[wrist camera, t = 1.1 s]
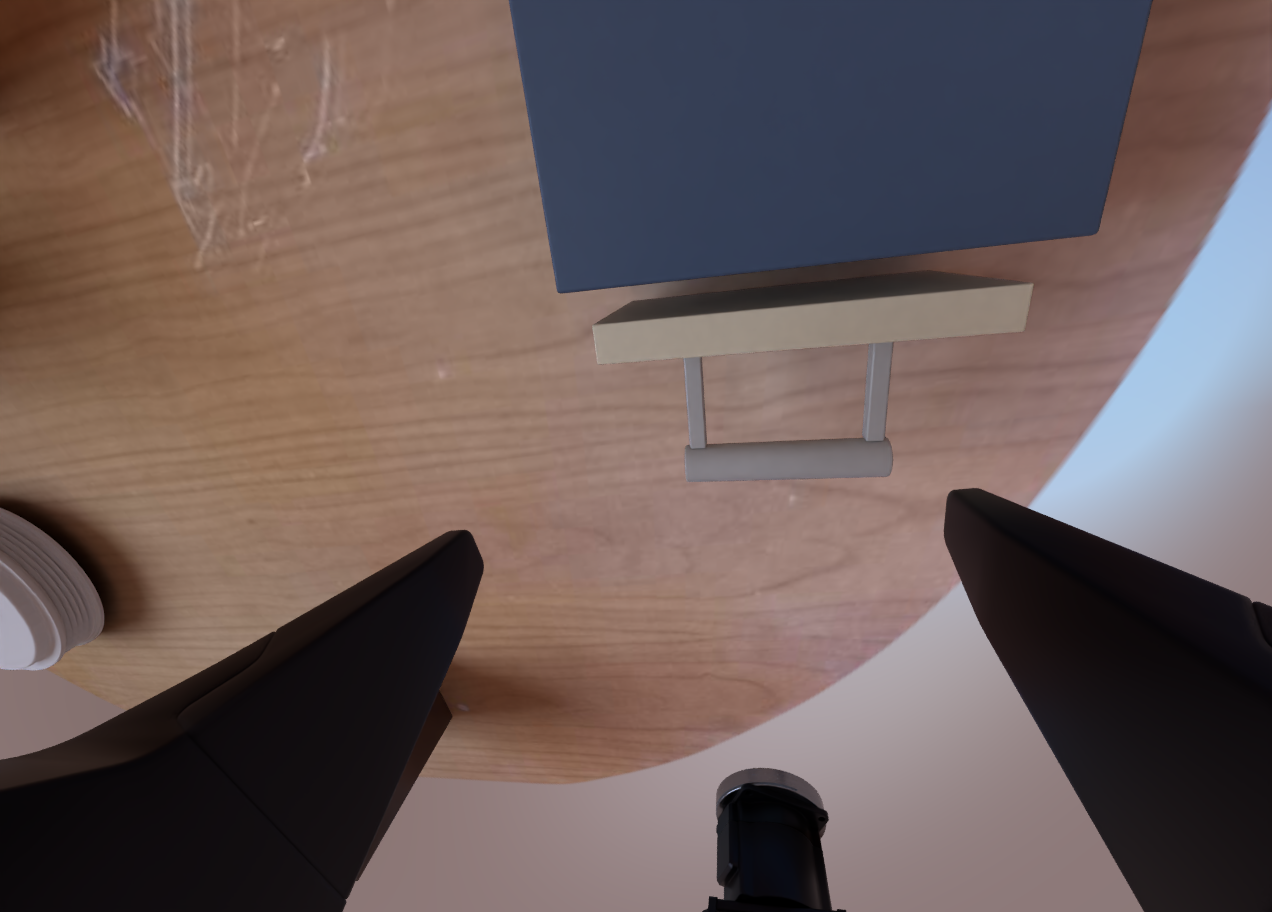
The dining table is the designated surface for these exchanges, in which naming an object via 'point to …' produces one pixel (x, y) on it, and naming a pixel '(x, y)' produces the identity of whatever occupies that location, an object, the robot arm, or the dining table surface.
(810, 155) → the cabinet
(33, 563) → the grey round disc
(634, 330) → the drawer
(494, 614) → the dining table surface
